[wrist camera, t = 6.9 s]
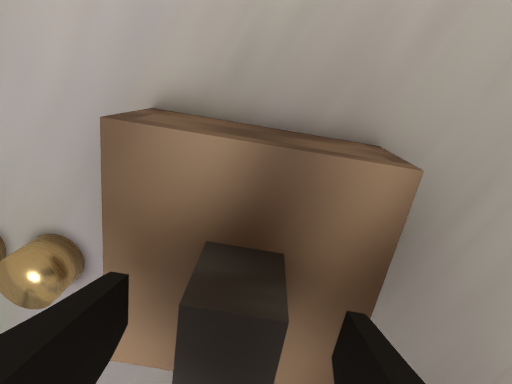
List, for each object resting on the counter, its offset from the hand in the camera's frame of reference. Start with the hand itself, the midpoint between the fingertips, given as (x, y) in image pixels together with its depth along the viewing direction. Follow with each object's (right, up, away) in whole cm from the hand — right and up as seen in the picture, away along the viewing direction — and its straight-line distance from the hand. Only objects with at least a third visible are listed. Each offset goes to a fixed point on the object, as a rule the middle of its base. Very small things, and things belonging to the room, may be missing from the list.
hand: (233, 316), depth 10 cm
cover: (0, +2, +6) cm, 7 cm away
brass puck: (-11, 0, +7) cm, 13 cm away
